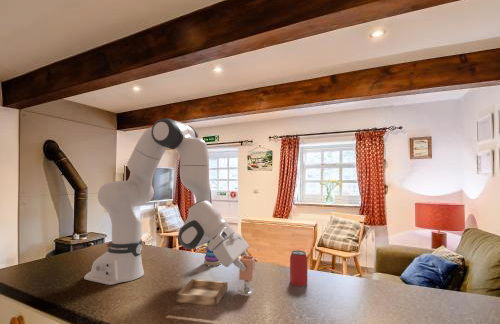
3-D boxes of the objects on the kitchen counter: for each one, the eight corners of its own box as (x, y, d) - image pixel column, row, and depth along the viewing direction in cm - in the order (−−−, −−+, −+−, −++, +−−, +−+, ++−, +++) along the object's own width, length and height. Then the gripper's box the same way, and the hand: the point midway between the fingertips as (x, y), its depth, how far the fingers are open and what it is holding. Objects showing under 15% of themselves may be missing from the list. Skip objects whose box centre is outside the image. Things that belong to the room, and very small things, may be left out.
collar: (239, 279, 91) (239, 259, 91) (242, 274, 96) (242, 255, 96) (252, 281, 90) (252, 260, 91) (254, 276, 95) (255, 256, 95)
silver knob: (235, 296, 90) (236, 278, 91) (240, 288, 97) (240, 271, 97) (254, 298, 89) (254, 280, 89) (257, 290, 95) (257, 273, 96)
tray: (176, 303, 85) (176, 294, 85) (192, 287, 97) (192, 279, 97) (216, 308, 82) (216, 298, 82) (227, 290, 94) (227, 282, 95)
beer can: (286, 283, 101) (286, 252, 102) (296, 279, 106) (296, 248, 106) (301, 289, 96) (301, 255, 97) (310, 283, 101) (310, 252, 102)
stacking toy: (218, 267, 119) (218, 225, 120) (201, 265, 120) (202, 224, 121) (223, 261, 127) (223, 222, 127) (207, 260, 128) (208, 221, 129)
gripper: (227, 235, 107) (249, 263, 103) (205, 249, 87) (231, 283, 84) (238, 225, 106) (260, 253, 102) (218, 236, 86) (245, 271, 83)
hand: (247, 266), depth 93 cm, fingers closed on collar, 5 cm apart
